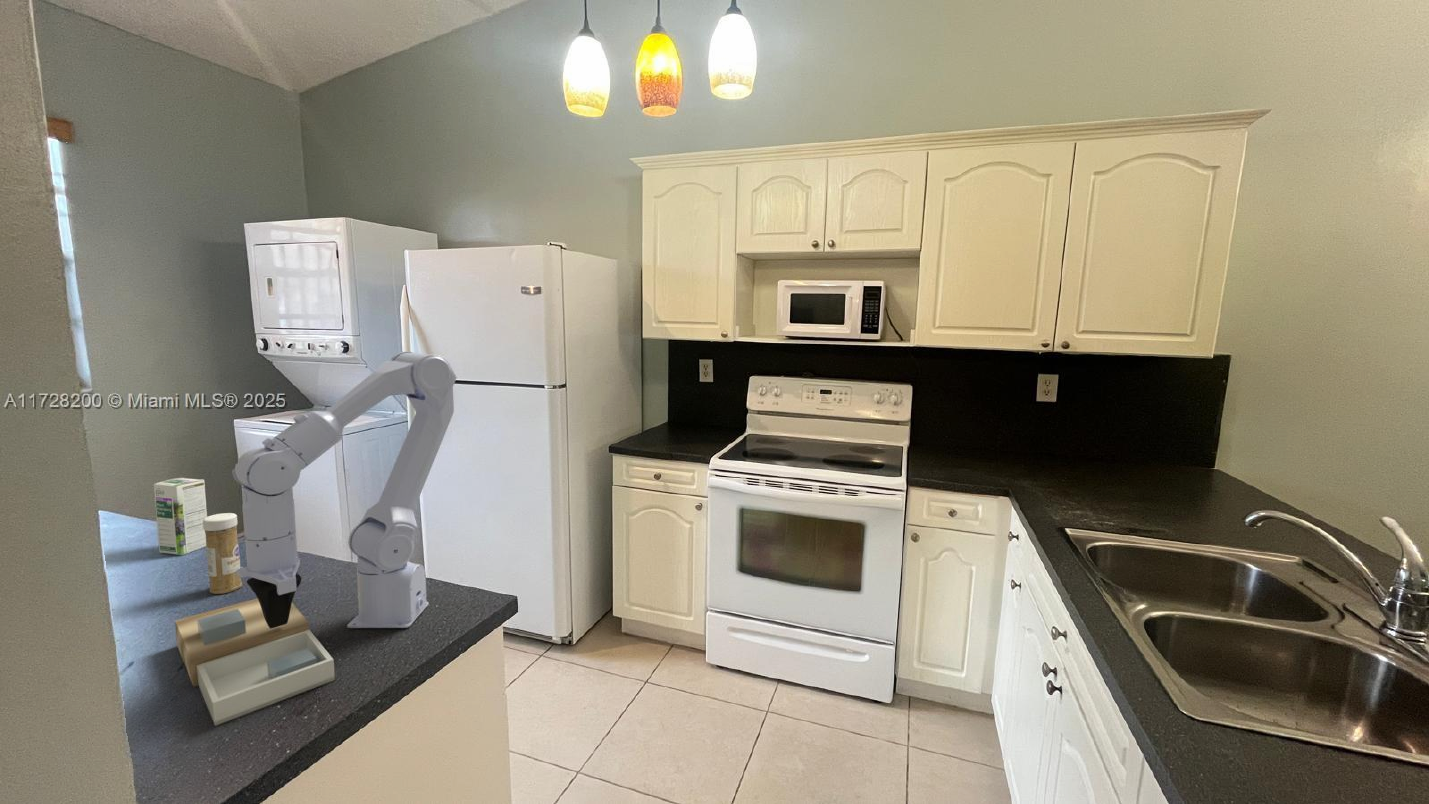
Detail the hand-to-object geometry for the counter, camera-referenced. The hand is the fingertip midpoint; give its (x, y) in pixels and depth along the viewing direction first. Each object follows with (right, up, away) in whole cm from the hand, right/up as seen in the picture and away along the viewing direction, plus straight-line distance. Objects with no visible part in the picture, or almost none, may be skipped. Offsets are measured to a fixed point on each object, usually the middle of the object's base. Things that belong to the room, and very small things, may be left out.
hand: (277, 624), depth 83 cm
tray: (+3, -6, -6) cm, 9 cm away
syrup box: (-46, +1, +36) cm, 59 cm away
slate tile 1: (-7, -1, -1) cm, 7 cm away
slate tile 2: (+5, -3, -5) cm, 8 cm away
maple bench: (-7, -4, +3) cm, 8 cm away
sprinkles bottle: (-24, -2, +20) cm, 31 cm away
